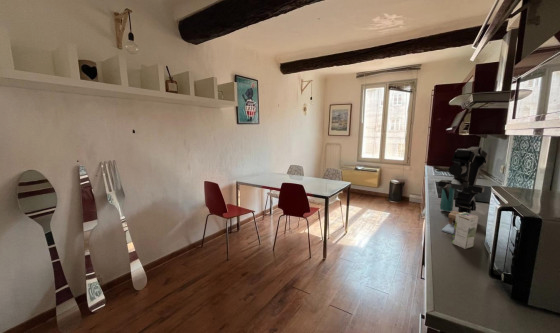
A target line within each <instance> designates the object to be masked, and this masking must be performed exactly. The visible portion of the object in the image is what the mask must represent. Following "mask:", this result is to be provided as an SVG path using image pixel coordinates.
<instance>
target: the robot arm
mask: <svg viewBox="0 0 560 333" xmlns="http://www.w3.org/2000/svg"><path fill="white" fill-rule="evenodd" d="M488 161H489V156H488V153H487V152H486V151H485V150H484V149H483V147H481V146H470V147H467V148H457V149H456V150H455V151H454V153H453V156H452V158H451V163H453V164H452V165H450V166H449V167H448V172H449V174H450V175H452V176H453V179H452V182H451V183H450V182H449V181H447V180H448V179H441V180H439V181H438V183H437V187H440V189H442V188H443V190H444V191H445V194H446V197H447V200H448V199H449V190H450V186H451V188H452V189H455V190H459V192H458V193H457V195H456V196H455V197H454V198H455V199H454V208H458V210H457V212H462V213H463V212H466V213H470V214H472V212H475V211H477V204H476V198H475V196H476V195H479V194H483V193H484V192H485V186H484V185H481V184H480V185H479V184H477V182H478V178H479V173H480V171H481V170H482V169H483V168H485V167H486V164H488Z"/></svg>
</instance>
